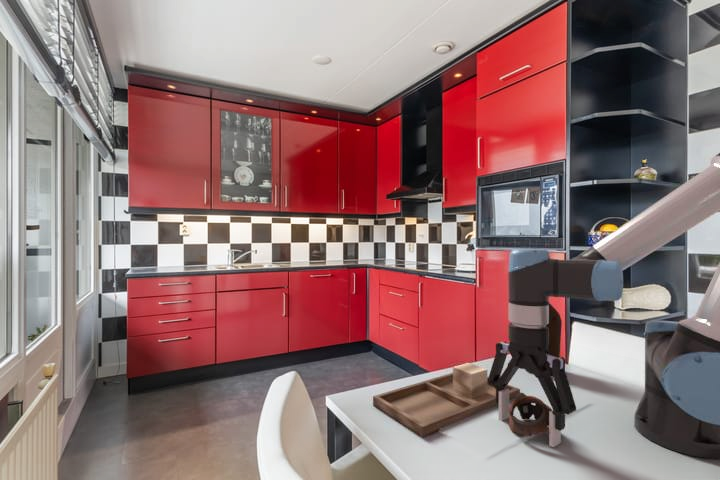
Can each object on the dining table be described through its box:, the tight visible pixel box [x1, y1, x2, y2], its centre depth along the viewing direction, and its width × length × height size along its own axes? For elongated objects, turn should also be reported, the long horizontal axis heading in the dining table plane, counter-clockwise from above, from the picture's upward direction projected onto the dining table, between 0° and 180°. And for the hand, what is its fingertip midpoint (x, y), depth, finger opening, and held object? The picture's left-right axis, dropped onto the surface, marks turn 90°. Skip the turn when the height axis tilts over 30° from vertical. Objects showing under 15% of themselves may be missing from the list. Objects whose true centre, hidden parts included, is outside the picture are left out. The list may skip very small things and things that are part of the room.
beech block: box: [452, 362, 488, 399], centre depth 93 cm, size 6×6×6 cm
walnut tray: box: [372, 372, 521, 438], centre depth 89 cm, size 17×33×2 cm, turn 124°
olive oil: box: [524, 302, 563, 377], centre depth 109 cm, size 11×11×25 cm
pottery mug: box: [508, 392, 553, 437], centre depth 76 cm, size 12×10×8 cm
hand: (527, 431), depth 75 cm, fingers open, 10 cm apart
